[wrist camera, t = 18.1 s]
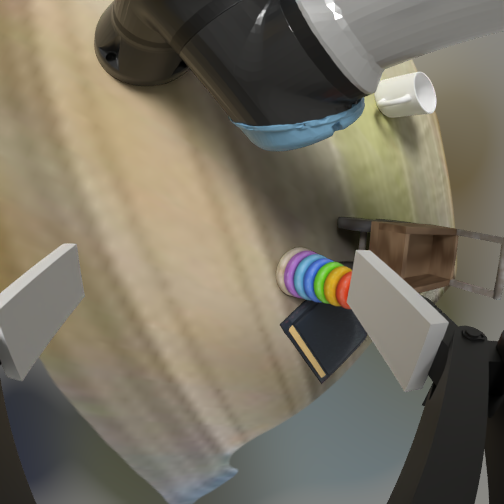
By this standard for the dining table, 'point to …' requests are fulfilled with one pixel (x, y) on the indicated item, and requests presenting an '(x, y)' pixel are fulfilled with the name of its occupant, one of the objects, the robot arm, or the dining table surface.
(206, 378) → the dining table surface
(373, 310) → the robot arm
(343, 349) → the dark navy book
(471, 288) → the trolley
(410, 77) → the cup
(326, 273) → the stacking toy
